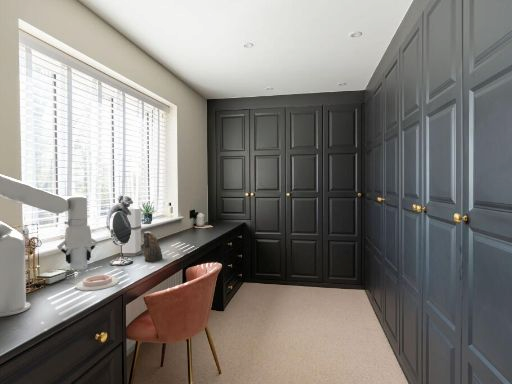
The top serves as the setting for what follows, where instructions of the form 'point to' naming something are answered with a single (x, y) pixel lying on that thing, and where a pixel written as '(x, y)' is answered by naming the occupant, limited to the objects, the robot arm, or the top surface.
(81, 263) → the skincare box
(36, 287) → the top surface
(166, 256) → the top surface
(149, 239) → the rock
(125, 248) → the white tall boxy piece
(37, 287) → the top surface
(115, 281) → the vanity tray
